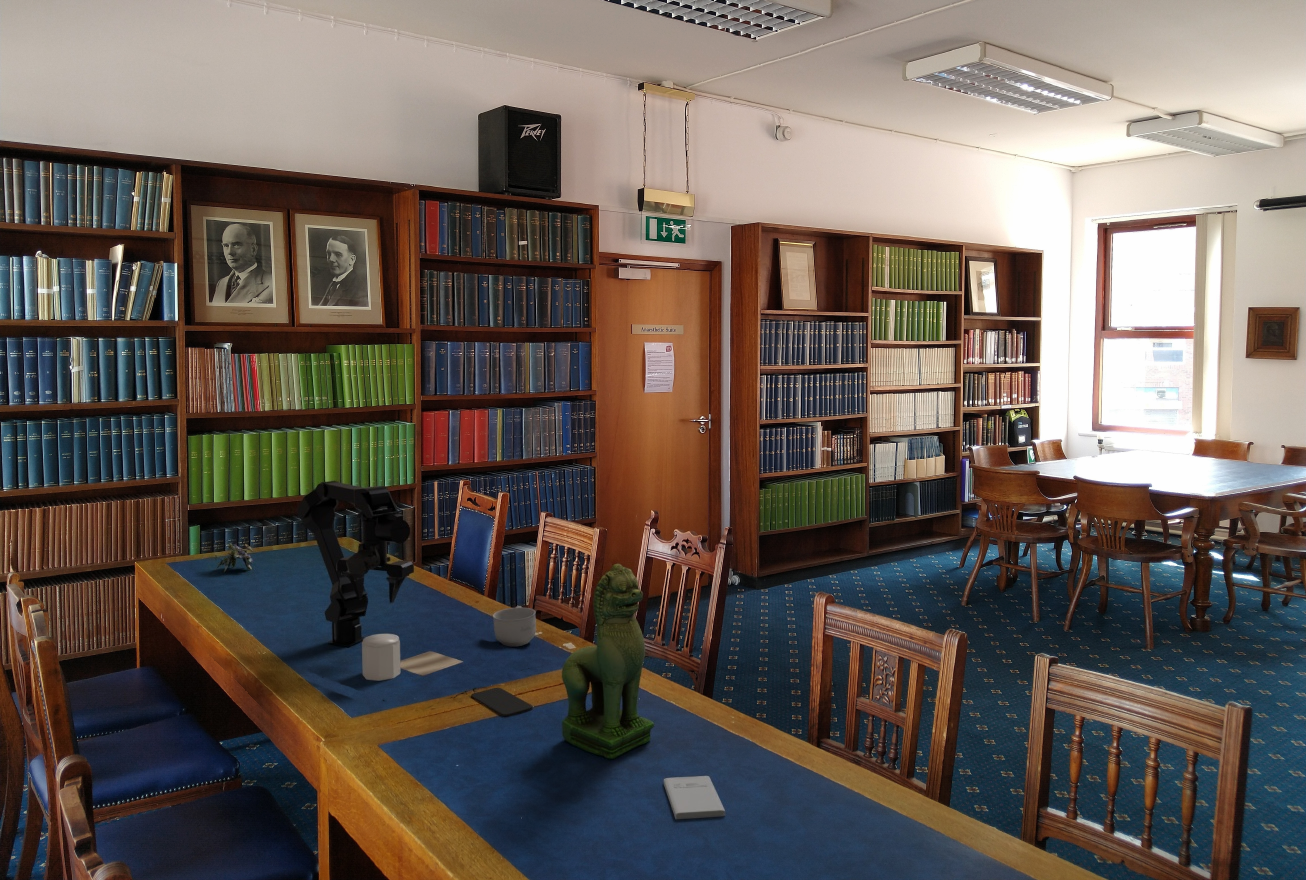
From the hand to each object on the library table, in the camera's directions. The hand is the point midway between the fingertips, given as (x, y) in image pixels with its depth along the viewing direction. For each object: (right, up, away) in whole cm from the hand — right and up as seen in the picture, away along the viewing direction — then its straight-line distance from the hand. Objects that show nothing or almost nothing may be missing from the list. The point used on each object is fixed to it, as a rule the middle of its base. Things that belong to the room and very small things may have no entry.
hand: (375, 600), depth 227 cm
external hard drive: (+75, -22, -71) cm, 105 cm away
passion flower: (-71, -5, +81) cm, 108 cm away
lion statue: (+59, -19, -48) cm, 78 cm away
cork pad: (+15, -14, -10) cm, 23 cm away
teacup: (+33, -13, +11) cm, 37 cm away
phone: (+36, -17, -30) cm, 49 cm away
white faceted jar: (+7, -15, -18) cm, 24 cm away
